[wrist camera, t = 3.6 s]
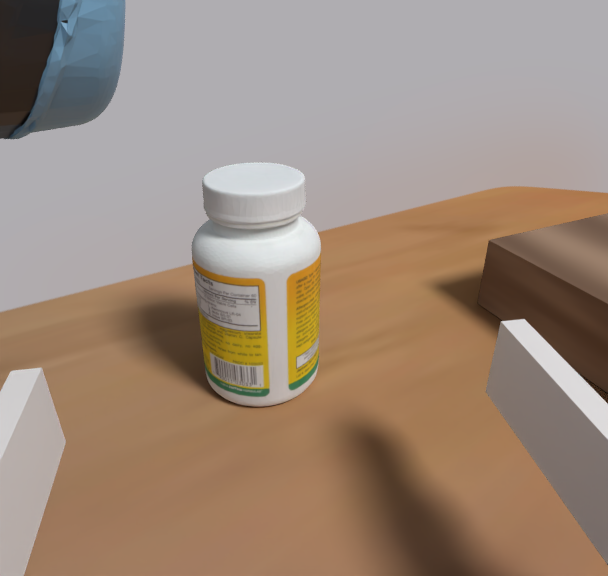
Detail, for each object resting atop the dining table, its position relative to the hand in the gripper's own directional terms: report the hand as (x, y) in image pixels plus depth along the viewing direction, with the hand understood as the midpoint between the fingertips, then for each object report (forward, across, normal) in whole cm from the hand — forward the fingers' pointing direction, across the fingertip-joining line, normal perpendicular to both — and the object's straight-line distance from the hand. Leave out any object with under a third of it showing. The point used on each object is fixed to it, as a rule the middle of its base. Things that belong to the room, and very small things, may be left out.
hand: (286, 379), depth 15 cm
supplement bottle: (+8, 0, -6) cm, 10 cm away
